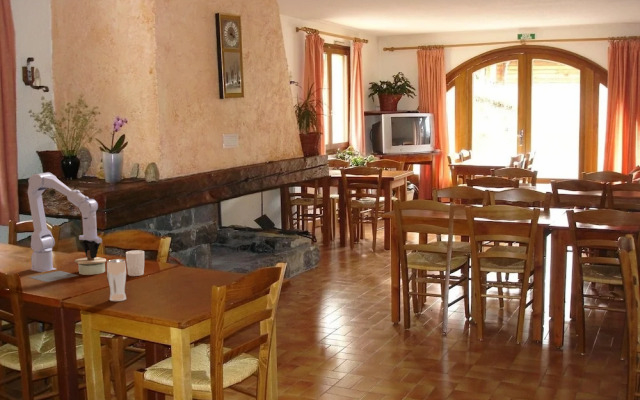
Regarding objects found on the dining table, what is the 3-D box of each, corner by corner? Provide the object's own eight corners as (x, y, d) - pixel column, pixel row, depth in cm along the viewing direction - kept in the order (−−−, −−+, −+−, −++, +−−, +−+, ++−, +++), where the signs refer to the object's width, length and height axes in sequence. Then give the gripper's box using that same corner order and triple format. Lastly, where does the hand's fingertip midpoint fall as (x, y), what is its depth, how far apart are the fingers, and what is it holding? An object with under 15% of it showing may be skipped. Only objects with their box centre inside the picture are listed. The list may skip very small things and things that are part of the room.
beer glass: (110, 297, 275) (108, 259, 273) (128, 296, 275) (127, 258, 274) (106, 302, 268) (104, 262, 266) (125, 301, 269) (123, 262, 267)
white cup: (140, 276, 308) (139, 254, 307) (123, 276, 310) (122, 253, 309) (148, 272, 316) (147, 250, 315) (131, 272, 318) (130, 250, 316)
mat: (28, 278, 308) (28, 277, 307) (59, 272, 319) (59, 270, 319) (47, 283, 298) (47, 282, 298) (79, 276, 310) (78, 275, 310)
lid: (69, 261, 315) (69, 250, 314) (95, 258, 325) (95, 247, 324) (86, 265, 306) (85, 254, 306) (112, 261, 316) (112, 250, 316)
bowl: (74, 273, 316) (73, 263, 315) (95, 269, 324) (95, 259, 324) (88, 277, 309) (87, 266, 308) (110, 272, 317) (109, 262, 317)
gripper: (72, 226, 315) (73, 257, 317) (91, 229, 306) (92, 261, 308) (86, 224, 321) (87, 254, 322) (105, 227, 312) (107, 258, 313)
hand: (91, 257), depth 316 cm, fingers closed on lid, 3 cm apart
